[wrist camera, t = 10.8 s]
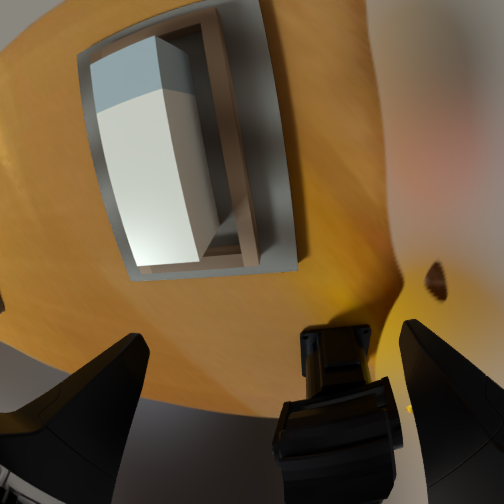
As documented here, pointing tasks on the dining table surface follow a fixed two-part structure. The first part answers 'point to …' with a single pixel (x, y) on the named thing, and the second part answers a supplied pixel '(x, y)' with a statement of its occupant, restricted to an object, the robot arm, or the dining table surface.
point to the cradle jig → (217, 138)
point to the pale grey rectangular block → (155, 151)
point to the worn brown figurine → (1, 307)
